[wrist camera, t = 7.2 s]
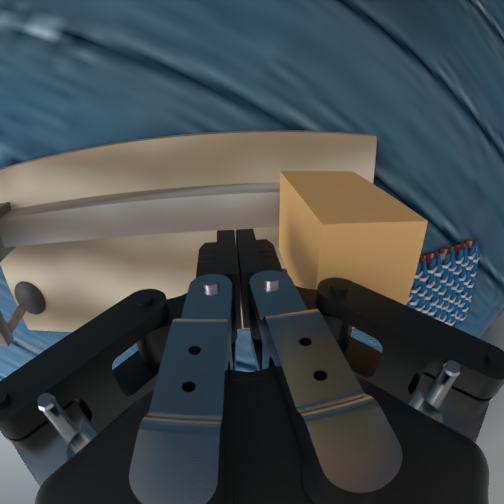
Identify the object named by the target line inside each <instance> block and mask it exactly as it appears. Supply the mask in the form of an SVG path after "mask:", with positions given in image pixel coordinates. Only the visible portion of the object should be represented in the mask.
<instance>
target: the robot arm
mask: <svg viewBox="0 0 504 504" xmlns="http://www.w3.org/2000/svg"><path fill="white" fill-rule="evenodd" d="M241 309H242V318H243V327H244V328H250V331H251V346H252V350H253V354H254V358H255V362H256V366H257V370H258V371H255V372H242V371H236V339H237V329H242V320H241ZM352 327H355V328H356V329H358V330H360V331H362V332H364V333H366V334H368V335H370V336H372V337H374V338H376V339H377V340H378V341H379V342H380V343H381V345H382V348H383V351H382V353H381V352H379V351H377V350H375V349H373V348H372V347H370V346H368V345H366V344H364V343H362V342H360V341H358V340H356V339H354V338H353V337H351V336H350V335H351V331H352ZM135 343H136V344H137V347H138V349H139V350H138V351H137V352H135V353H134V354H133V355H132V356H130V357H129V358H128V359H126V360H125V361H124V362H122V363H121V364H120V365H119V366H117V367H116V368H115V369H113V370H112V364H113V362H114V360H115V359H116V358H117V357H118V356H119V355H121V354H122V353H123V352H125V351H126V350H127V349H129V348H130V347H131V346H133V345H134V344H135ZM503 384H504V351H502V350H501V349H500V348H498V347H496V346H494V345H491V344H489V343H487V342H485V341H483V340H481V339H479V338H476V337H474V336H472V335H470V334H468V333H466V332H463V331H461V330H459V329H457V328H455V327H452V326H450V325H448V324H446V323H444V322H442V321H439V320H437V319H435V318H433V317H431V316H428V315H426V314H424V313H422V312H420V311H417V310H415V309H413V308H411V307H408V306H406V305H404V304H402V303H400V302H397V301H395V300H393V299H391V298H388V297H386V296H384V295H382V294H379V293H377V292H375V291H373V290H370V289H368V288H366V287H364V286H361V285H359V284H357V283H355V282H352V281H350V280H348V279H344V278H338V277H333V278H327V279H324V280H322V281H321V282H320V283H319V284H318V287H317V290H316V289H307V288H302V287H298V286H295V285H294V283H293V281H292V279H291V277H290V276H289V275H287V274H285V273H283V270H282V267H281V264H280V261H279V259H278V256H277V253H276V250H275V248H274V245H273V244H272V243H271V242H270V241H268V240H267V239H259V240H256V238H255V234H254V230H253V228H252V229H236V240H235V232H234V230H217V242H208V243H204V244H203V245H202V246H201V247H200V248H199V254H198V262H197V271H196V278H195V279H194V280H193V281H192V282H191V283H190V285H189V288H188V292H187V293H185V294H183V295H181V296H178V297H174V298H170V299H167V298H166V295H165V294H164V293H163V292H162V291H160V290H157V289H143V290H139V291H136V292H134V293H132V294H131V295H129V296H127V297H126V298H124V299H123V300H121V301H120V302H118V303H117V304H115V305H113V306H112V307H110V308H109V309H107V310H106V311H104V312H103V313H101V314H100V315H98V316H96V317H95V318H93V319H92V320H90V321H89V322H87V323H86V324H84V325H83V326H81V327H80V328H78V329H77V330H75V331H74V332H72V333H71V334H69V335H68V336H66V337H65V338H63V339H62V340H60V341H59V342H57V343H56V344H54V345H53V346H51V347H50V348H48V349H47V350H45V351H44V352H42V353H41V354H39V355H38V356H36V357H35V358H33V359H32V360H30V361H29V362H27V363H26V364H25V365H23V366H22V367H20V368H19V369H17V370H16V371H14V372H13V373H12V374H10V375H9V376H7V377H6V378H4V379H3V380H2V381H0V431H1V432H2V434H3V435H4V437H5V438H6V439H7V440H9V441H10V442H11V443H12V444H13V445H14V446H15V448H16V449H17V451H18V453H19V455H20V456H21V458H22V460H23V461H24V463H25V465H26V466H27V468H28V469H29V471H30V472H31V474H32V475H33V477H34V478H35V480H36V481H37V483H38V484H39V485H40V489H39V491H38V493H37V496H36V499H35V504H488V485H489V469H488V464H487V460H486V458H485V456H484V453H483V452H482V450H481V449H480V448H479V446H478V445H477V444H476V443H475V442H476V440H477V437H478V434H479V432H480V429H481V427H482V424H483V421H484V418H485V415H486V411H487V409H488V405H489V403H490V402H491V400H492V399H493V398H494V396H495V395H496V394H497V392H498V391H499V389H500V388H501V387H502V385H503Z"/></svg>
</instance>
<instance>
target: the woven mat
mask: <svg viewBox="0 0 504 504" xmlns="http://www.w3.org/2000/svg"><path fill="white" fill-rule="evenodd" d="M469 248H471V250H470V251H469ZM458 252H459V253H458ZM457 253H458V255H457ZM479 257H480V251H479V242H478V241H477V240H476V239H473V241H470V242H469V240H465V243H463V242H462V243H460V245H455V246H454V247H448V249H445V250H444V248H440V250H439V251H436V252H434V253H432V254H430V253H427V254H426V256H420V258H419V262H418V266H417V270H416V274H415V277H414V281H413V284H412V288H411V291H410V295H409V298H408V301H407V304H406V306H408V307H411V308H413V309H415V310H417V311H420V312H422V313H424V314H426V315H428V316H431V317H433V318H435V319H437V320H439V321H442V322H444V323H446V324H448V325H450V326H452V327H453V326H454V327H457V326H458V325H459V323H460V326H463V323H464V319H465V318H466V316H467V312H466V311H467V310H468V309H469V308H468V305H469V302H471V299H470V298H471V297H472V290H471V288H472V287H473V285H474V282H475V278H474V276H475V275H476V272H475V271H476V270H477V268H478V267H477V264H478V263H477V262H478V260H479ZM470 271H471V272H470ZM464 304H465V305H464ZM454 323H455V324H454ZM453 324H454V325H453Z"/></svg>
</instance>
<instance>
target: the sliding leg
mask: <svg viewBox="0 0 504 504" xmlns="http://www.w3.org/2000/svg"><path fill="white" fill-rule="evenodd" d="M427 223H428V221H427V220H425V219H424V218H423V217H421V216H420V215H418V214H417V213H416V212H414V211H413V210H411V209H410V208H408V207H407V206H406V205H404V204H403V203H401V202H400V201H398V200H397V199H395V198H394V197H392V196H391V195H389V194H388V193H386V192H385V191H383V190H382V189H380V188H379V187H377V186H375V185H374V184H372V183H371V182H369V181H368V180H366V179H364V178H363V177H361V176H360V175H358V174H356V173H355V172H353V171H280V215H279V251H280V253H281V256H282V259H283V261H284V264H285V267H286V269H287V272H288V275H289V276H290V277H291V279H292V281H293V283H294V285H295V286H298V287H302V288H307V289H316V290H317V287H318V284H319V283H320V282H321V281H322V280H324V279H327V278H333V277H338V278H344V279H348V280H350V281H352V282H355V283H357V284H359V285H361V286H364V287H366V288H368V289H370V290H373V291H375V292H377V293H379V294H382V295H384V296H386V297H388V298H391V299H393V300H395V301H397V302H400V303H402V304H404V305H406V304H407V301H408V298H409V295H410V291H411V288H412V284H413V281H414V277H415V274H416V270H417V266H418V262H419V258H420V254H421V250H422V246H423V241H424V237H425V232H426V228H427ZM352 329H355V327H352Z"/></svg>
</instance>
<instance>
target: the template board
mask: <svg viewBox="0 0 504 504" xmlns="http://www.w3.org/2000/svg"><path fill="white" fill-rule="evenodd" d="M376 145H377V136H374V135H371V134H363V133H350V132H333V131H307V130H251V131H225V132H208V133H194V134H182V135H172V136H162V137H153V138H145V139H137V140H130V141H123V142H117V143H110V144H104V145H99V146H93V147H87V148H82V149H77V150H72V151H67V152H63V153H58V154H54V155H49V156H45V157H41V158H37V159H33V160H29V161H25V162H21V163H18V164H14V165H10V166H7V167H4V168H0V265H1V267H2V270H3V273H4V275H5V278H6V280H7V283H8V285H9V288H10V290H11V293H12V295H13V297H14V299H15V302H16V304H17V306H18V307H17V308H16V310H15V311H14V313H13V314H12V315H11V317H10V318H9V320H8V321H7V323H6V321H5V320H4V318H3V315H2V313H1V311H0V345H1V346H9V345H10V343H11V341H12V340H13V338H14V337H13V335H12V332H13V331H14V329H15V328H16V326H17V325H18V323H19V321H20V320H21V318H22V317H23V319H24V321H25V323H26V325H27V327H28V329H29V330H41V331H59V332H74V331H75V330H77V329H78V328H80V327H81V326H83V325H84V324H86V323H87V322H89V321H90V320H92V319H93V318H95V317H96V316H98V315H100V314H101V313H103V312H104V311H106V310H107V309H109V308H110V307H112V306H113V305H115V304H117V303H118V302H120V301H121V300H123V299H124V298H126V297H127V296H129V295H131V294H132V293H134V292H136V291H139V290H143V289H157V290H160V291H162V292H163V293H164V294H165V295H166V298H167V299H170V298H174V297H178V296H181V295H183V294H185V293H187V292H188V288H189V285H190V283H191V282H192V281H193V280H194V279H195V278H196V271H197V262H198V254H199V248H200V247H201V246H202V245H203V244H204V243H208V242H217V230H234V232H235V240H236V229H252V228H253V230H254V234H255V238H256V240H259V239H267V240H268V241H270V242H271V243H272V244H273V245H274V248H275V250H276V253H277V256H278V259H279V261H280V264H281V267H282V270H283V273H285V274H287V275H288V272H287V269H286V267H285V264H284V261H283V259H282V256H281V253H280V251H279V215H280V171H353V172H355V173H356V174H358V175H360V176H361V177H363V178H364V179H366V180H368V181H369V182H371V183H372V184H373V181H374V170H375V159H376ZM241 320H242V329H249V328H244V327H243V318H242V309H241Z"/></svg>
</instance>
